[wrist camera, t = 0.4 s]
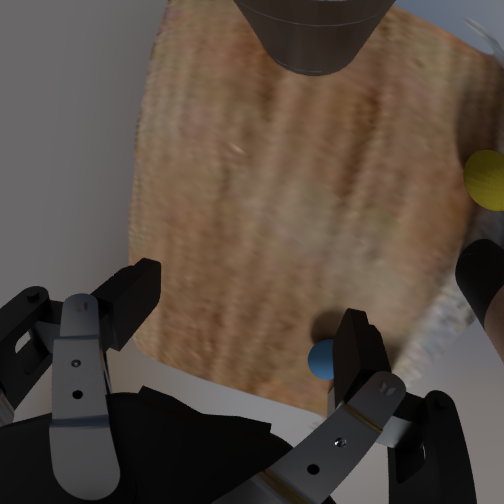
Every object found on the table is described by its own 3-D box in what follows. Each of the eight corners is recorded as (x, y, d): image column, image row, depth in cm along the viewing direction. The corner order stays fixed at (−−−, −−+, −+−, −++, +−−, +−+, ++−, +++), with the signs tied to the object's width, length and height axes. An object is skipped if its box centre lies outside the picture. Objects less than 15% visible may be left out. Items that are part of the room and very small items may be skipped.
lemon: (457, 203, 24) (497, 231, 17) (445, 153, 22) (487, 166, 15) (494, 188, 22) (537, 211, 15) (483, 139, 20) (529, 150, 13)
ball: (318, 325, 33) (318, 355, 29) (354, 337, 33) (358, 366, 28) (302, 352, 35) (300, 381, 31) (336, 362, 35) (337, 391, 31)
